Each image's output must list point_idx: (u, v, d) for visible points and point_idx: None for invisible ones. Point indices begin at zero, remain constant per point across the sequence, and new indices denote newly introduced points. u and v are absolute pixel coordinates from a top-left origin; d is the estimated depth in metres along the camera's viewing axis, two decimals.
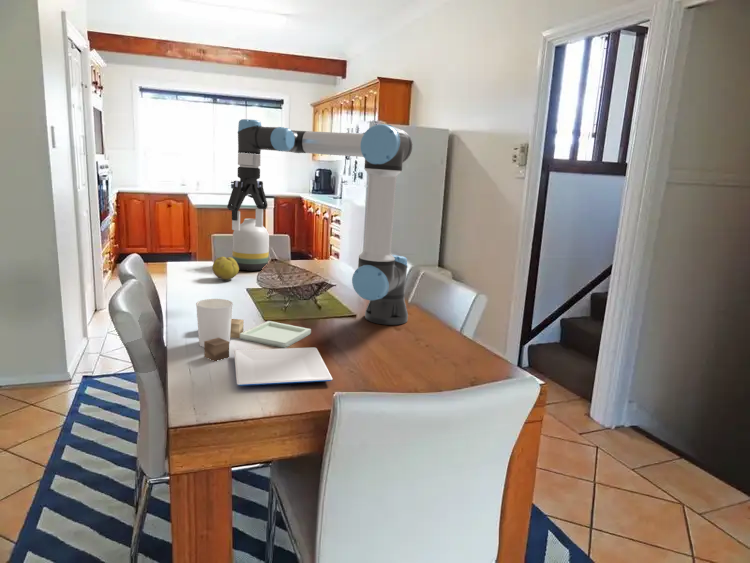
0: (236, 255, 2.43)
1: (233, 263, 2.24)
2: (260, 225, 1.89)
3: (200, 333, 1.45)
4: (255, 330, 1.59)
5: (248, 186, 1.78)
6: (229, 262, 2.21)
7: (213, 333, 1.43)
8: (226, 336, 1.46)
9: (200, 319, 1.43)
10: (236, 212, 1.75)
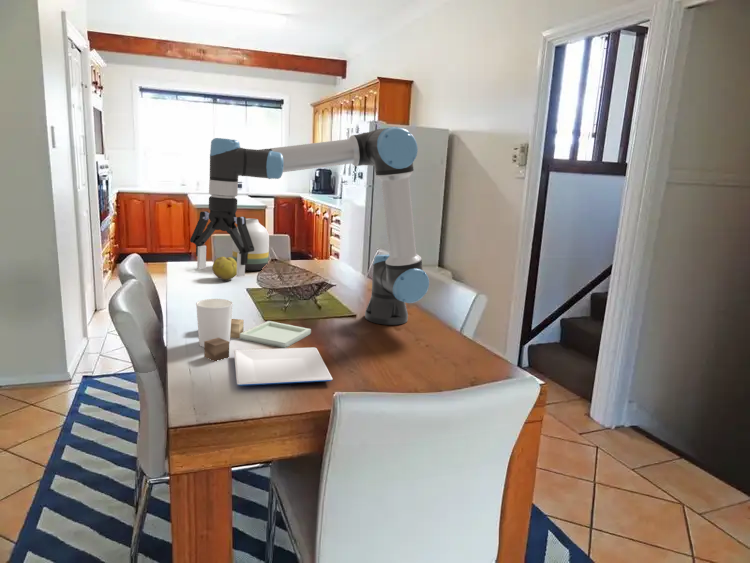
0: (236, 255, 2.43)
1: (233, 263, 2.24)
2: None
3: (200, 333, 1.45)
4: (255, 330, 1.59)
5: None
6: (229, 262, 2.21)
7: (213, 333, 1.43)
8: (226, 336, 1.46)
9: (200, 319, 1.43)
10: (197, 247, 1.49)
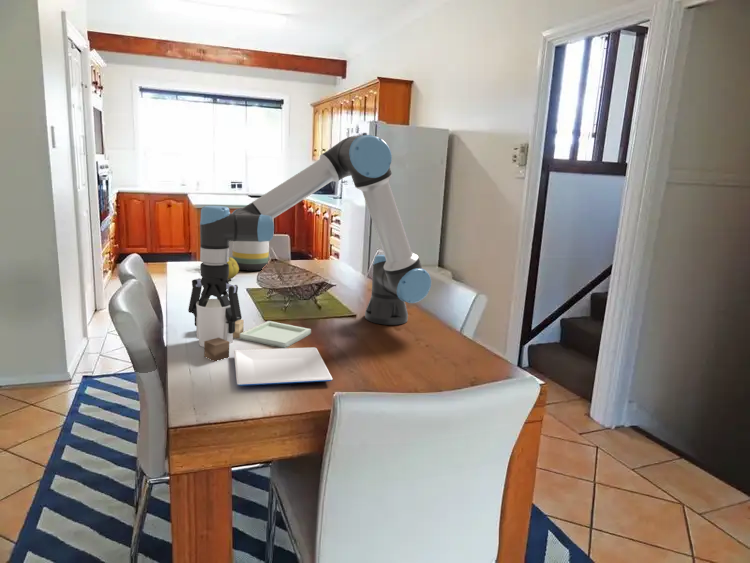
0: (236, 255, 2.43)
1: (233, 263, 2.24)
2: None
3: (200, 333, 1.45)
4: (255, 330, 1.59)
5: None
6: (229, 262, 2.21)
7: (213, 333, 1.43)
8: None
9: (200, 319, 1.43)
10: None
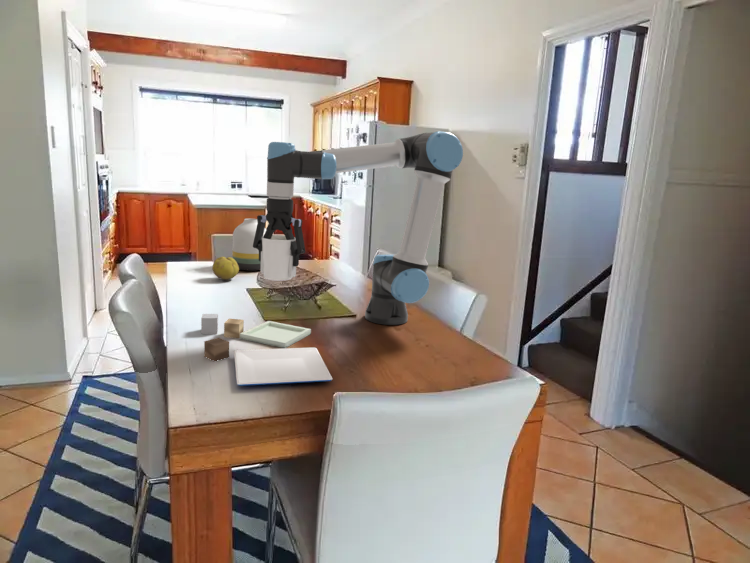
0: (236, 255, 2.43)
1: (233, 263, 2.24)
2: None
3: (266, 266, 1.51)
4: (255, 330, 1.59)
5: None
6: (229, 262, 2.21)
7: (278, 265, 1.49)
8: None
9: (266, 252, 1.49)
10: (260, 252, 1.54)
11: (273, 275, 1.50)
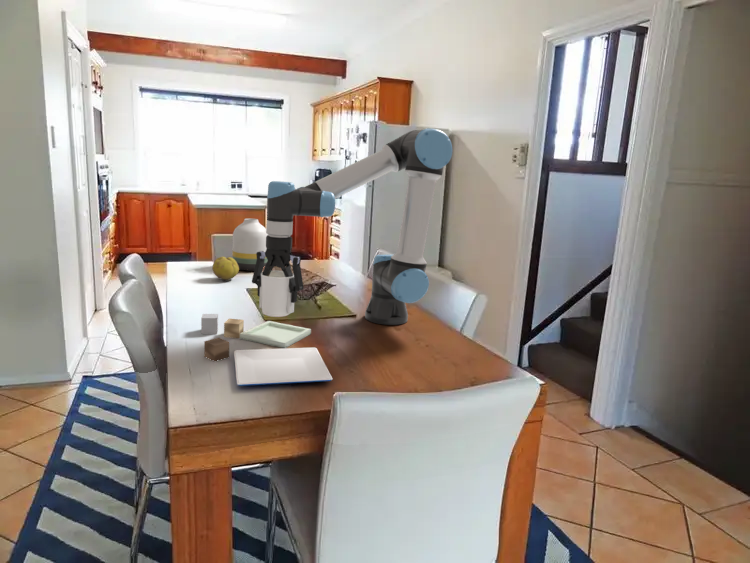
0: (236, 255, 2.43)
1: (233, 263, 2.24)
2: None
3: (264, 302, 1.53)
4: (255, 330, 1.59)
5: None
6: (229, 262, 2.21)
7: (277, 302, 1.52)
8: None
9: (265, 288, 1.51)
10: (259, 287, 1.57)
11: (271, 311, 1.52)
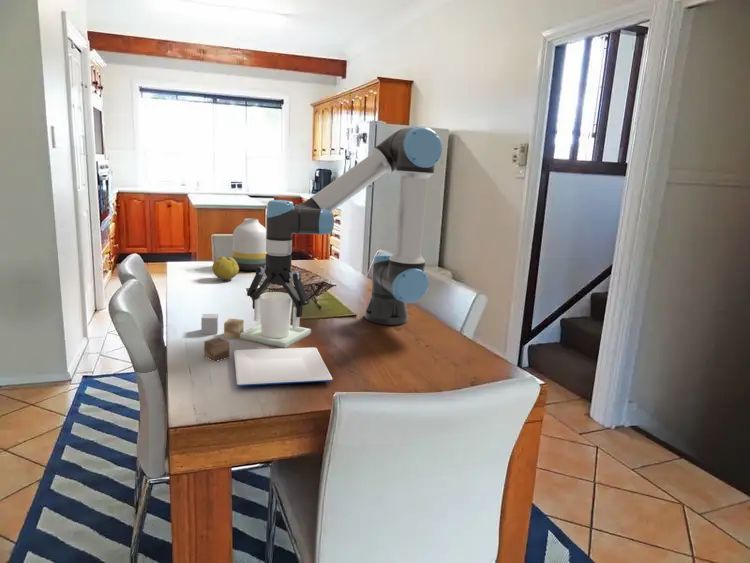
0: (236, 255, 2.43)
1: (233, 263, 2.24)
2: None
3: (263, 324, 1.54)
4: (255, 330, 1.59)
5: (268, 275, 1.54)
6: (229, 262, 2.21)
7: (276, 324, 1.53)
8: (287, 326, 1.56)
9: (264, 310, 1.53)
10: (254, 300, 1.58)
11: (270, 333, 1.54)
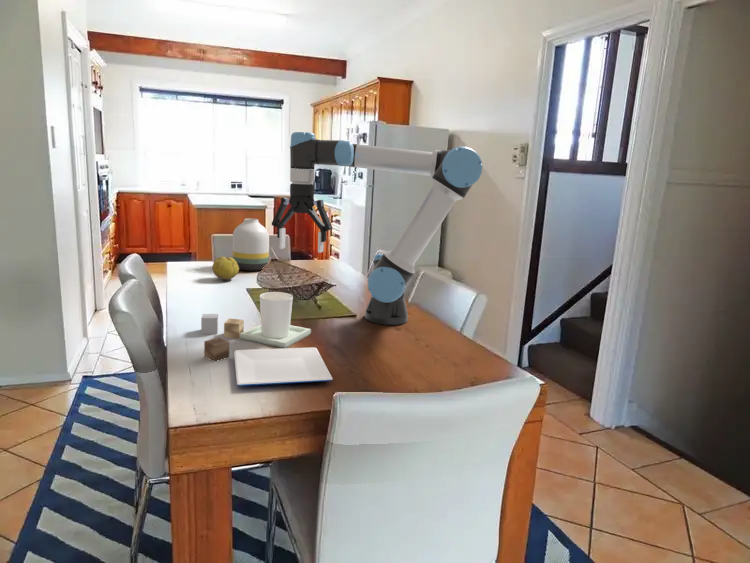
0: (236, 255, 2.43)
1: (233, 263, 2.24)
2: None
3: (263, 324, 1.54)
4: (255, 330, 1.59)
5: None
6: (229, 262, 2.21)
7: (276, 324, 1.53)
8: (287, 327, 1.56)
9: (264, 311, 1.53)
10: (279, 229, 1.69)
11: (270, 333, 1.54)
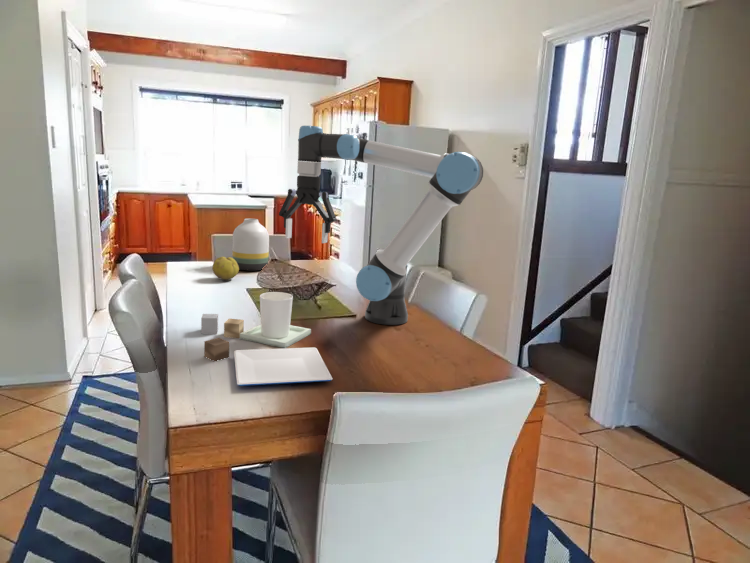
0: (236, 255, 2.43)
1: (233, 263, 2.24)
2: None
3: (263, 324, 1.54)
4: (255, 330, 1.59)
5: (300, 195, 1.70)
6: (229, 262, 2.21)
7: (276, 324, 1.53)
8: (287, 326, 1.56)
9: (264, 311, 1.53)
10: (285, 219, 1.75)
11: (270, 333, 1.54)
